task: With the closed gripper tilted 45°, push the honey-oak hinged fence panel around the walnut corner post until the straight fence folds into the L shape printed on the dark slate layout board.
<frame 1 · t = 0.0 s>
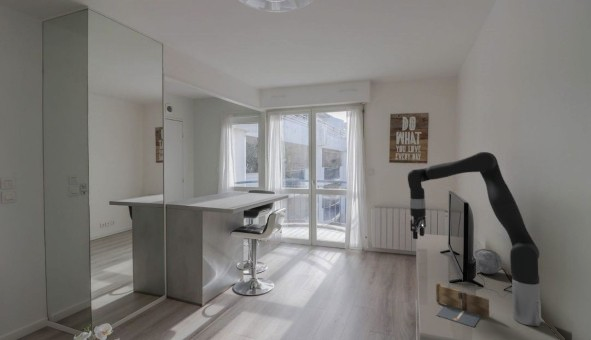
hand: (418, 237, 158), 29 cm above the table, tool pointing down, fingers open, 8 cm apart
fence fixed: (464, 310, 138), on the table
decorative orb: (487, 273, 181), on the table
layout board: (460, 313, 135), on the table
fence gate: (448, 295, 142), point 5 cm above the table, hinge at 0.0°
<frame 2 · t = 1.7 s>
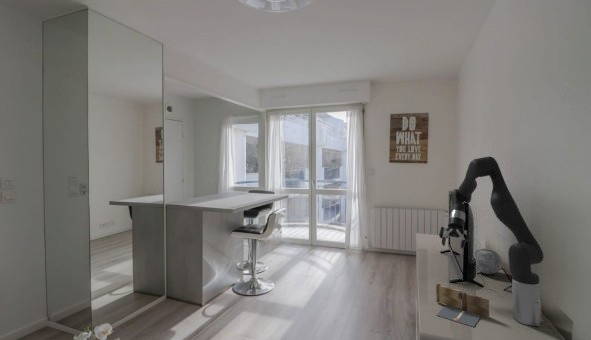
hand: (452, 246, 156), 25 cm above the table, tool tilted 45°, fingers open, 8 cm apart
nothing on the table moved.
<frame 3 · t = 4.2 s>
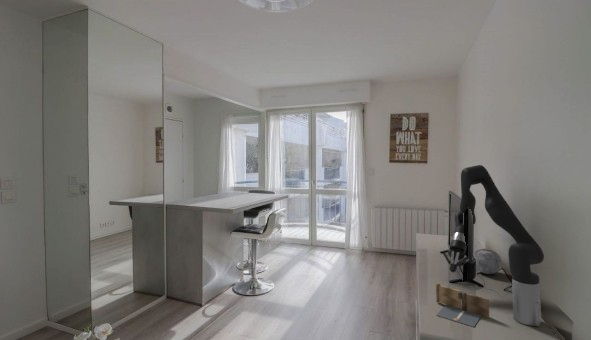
hand: (452, 271, 154), 12 cm above the table, tool tilted 45°, fingers closed
nothing on the table moved.
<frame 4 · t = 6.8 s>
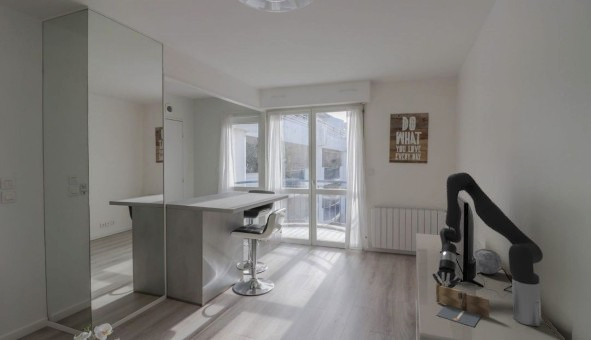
hand: (444, 294, 145), 4 cm above the table, tool tilted 45°, fingers closed
fence gate: (448, 295, 142), point 5 cm above the table, hinge at 0.4°, touching gripper
everything else where it was.
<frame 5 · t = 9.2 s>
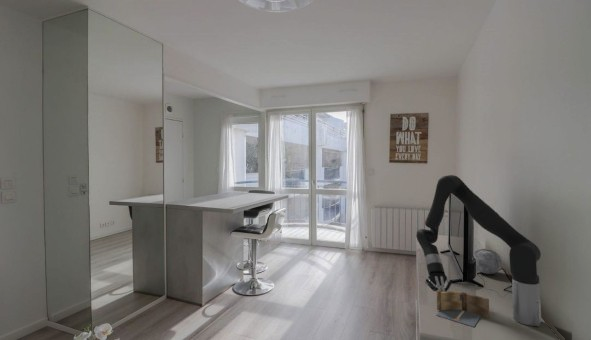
hand: (443, 300, 139), 4 cm above the table, tool tilted 45°, fingers closed
fence gate: (449, 299, 138), point 5 cm above the table, hinge at 42.3°, touching gripper
everything else where it was.
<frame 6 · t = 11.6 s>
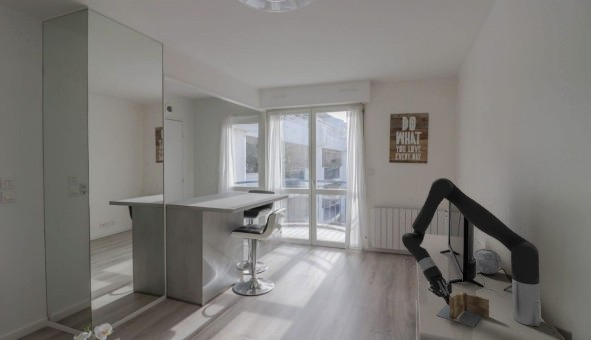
hand: (451, 304, 134), 5 cm above the table, tool tilted 45°, fingers closed
fence gate: (457, 304, 134), point 5 cm above the table, hinge at 80.6°
everything else where it was.
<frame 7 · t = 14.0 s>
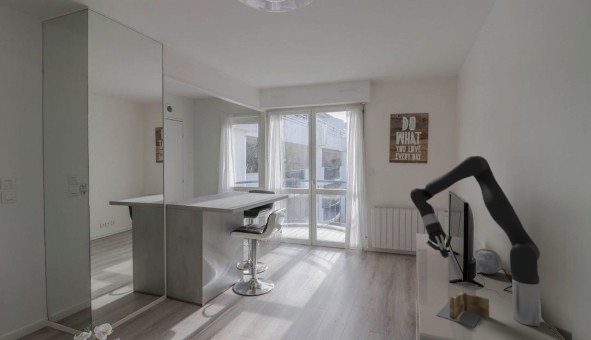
hand: (446, 257, 146), 22 cm above the table, tool tilted 30°, fingers closed
nothing on the table moved.
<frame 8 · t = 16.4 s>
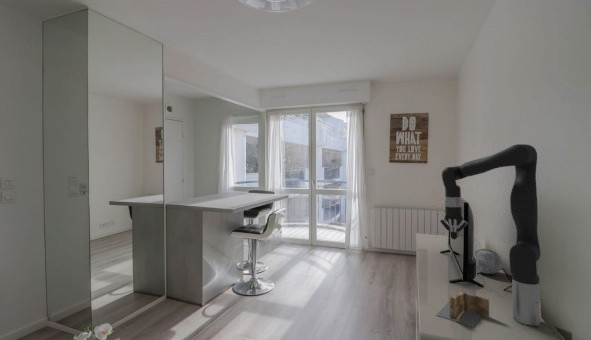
hand: (454, 238, 154), 29 cm above the table, tool pointing down, fingers closed
nothing on the table moved.
at the end: fence gate at +81° (first picture: +0°) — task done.
